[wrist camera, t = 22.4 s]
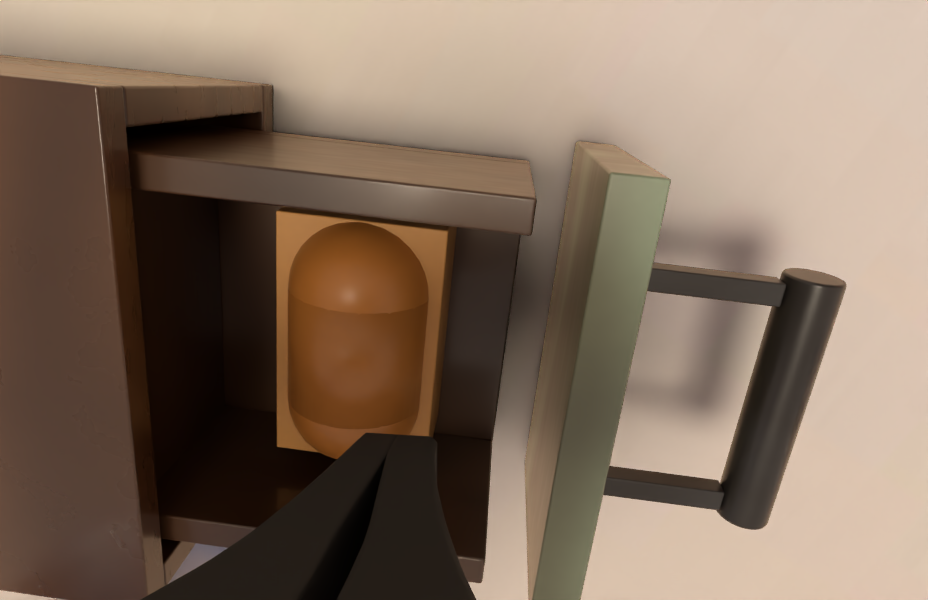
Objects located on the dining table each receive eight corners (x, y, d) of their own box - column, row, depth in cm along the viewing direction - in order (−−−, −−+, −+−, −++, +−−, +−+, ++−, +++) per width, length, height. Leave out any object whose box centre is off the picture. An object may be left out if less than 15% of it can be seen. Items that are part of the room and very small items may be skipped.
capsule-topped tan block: (312, 190, 18) (251, 222, 14) (458, 207, 18) (441, 245, 14) (309, 397, 21) (255, 479, 16) (438, 414, 20) (418, 500, 16)
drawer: (793, 164, 18) (948, 210, 12) (702, 487, 22) (780, 654, 15) (205, 99, 19) (44, 107, 12) (219, 423, 22) (102, 558, 16)
